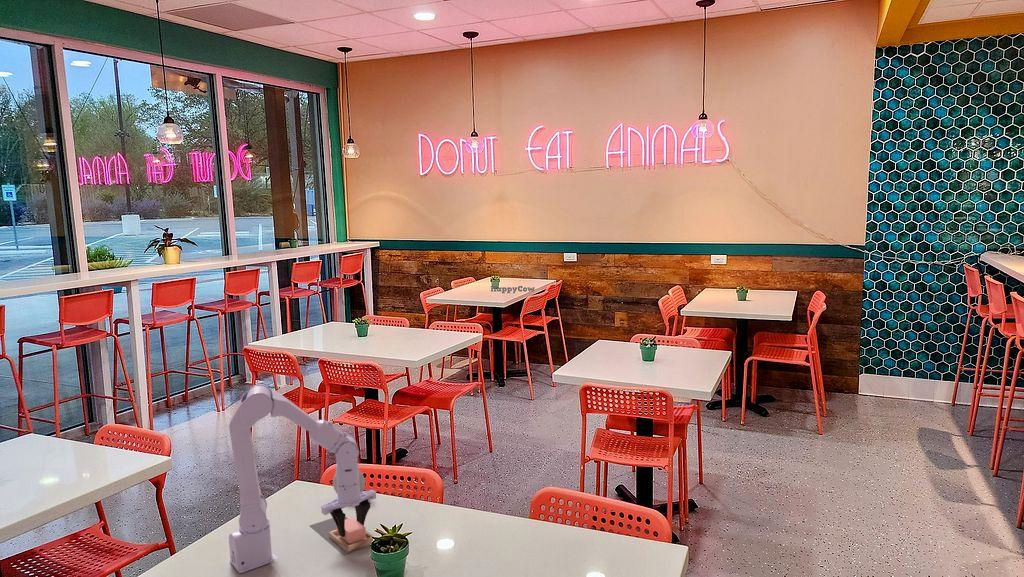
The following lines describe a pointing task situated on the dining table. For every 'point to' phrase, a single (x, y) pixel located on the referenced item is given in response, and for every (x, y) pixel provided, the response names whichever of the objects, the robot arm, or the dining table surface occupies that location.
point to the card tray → (352, 546)
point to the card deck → (353, 531)
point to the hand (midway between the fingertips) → (351, 532)
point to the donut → (361, 482)
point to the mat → (324, 529)
